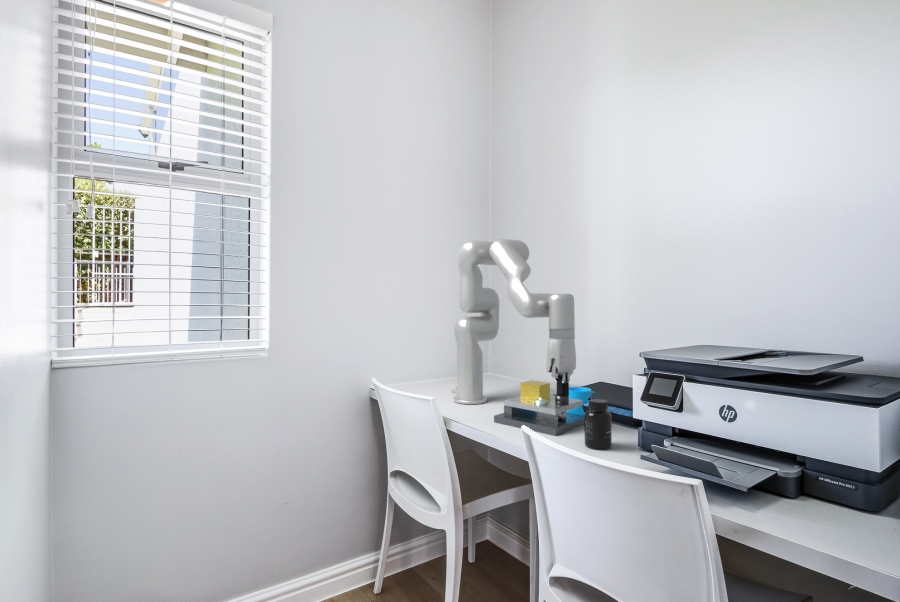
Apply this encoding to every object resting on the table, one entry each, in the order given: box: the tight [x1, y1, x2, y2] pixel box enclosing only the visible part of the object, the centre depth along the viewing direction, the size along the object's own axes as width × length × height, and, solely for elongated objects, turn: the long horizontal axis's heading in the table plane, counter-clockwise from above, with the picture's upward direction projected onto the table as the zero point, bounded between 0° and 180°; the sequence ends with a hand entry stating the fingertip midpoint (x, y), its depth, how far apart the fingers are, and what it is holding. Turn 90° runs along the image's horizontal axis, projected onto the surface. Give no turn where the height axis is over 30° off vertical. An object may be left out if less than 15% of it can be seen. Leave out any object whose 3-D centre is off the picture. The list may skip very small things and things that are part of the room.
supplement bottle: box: [584, 398, 613, 451], centre depth 126 cm, size 7×7×12 cm
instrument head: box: [504, 380, 583, 415], centre depth 149 cm, size 18×16×7 cm
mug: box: [566, 386, 596, 416], centre depth 162 cm, size 12×8×8 cm
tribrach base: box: [493, 404, 585, 437], centre depth 150 cm, size 22×19×5 cm
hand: (562, 395), depth 145 cm, fingers closed
